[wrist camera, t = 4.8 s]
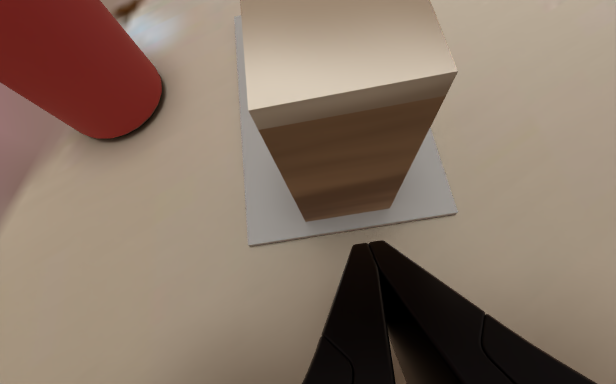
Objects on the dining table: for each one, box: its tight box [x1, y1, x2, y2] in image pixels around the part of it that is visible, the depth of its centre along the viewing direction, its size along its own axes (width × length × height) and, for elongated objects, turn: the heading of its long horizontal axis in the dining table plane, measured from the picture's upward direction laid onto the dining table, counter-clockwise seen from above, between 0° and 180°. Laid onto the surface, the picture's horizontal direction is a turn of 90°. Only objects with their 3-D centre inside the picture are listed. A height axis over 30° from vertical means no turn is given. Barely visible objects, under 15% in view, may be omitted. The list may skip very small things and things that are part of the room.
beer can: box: [0, 0, 162, 138], centre depth 15 cm, size 7×7×12 cm
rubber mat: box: [234, 15, 458, 247], centre depth 19 cm, size 17×11×1 cm, turn 8°
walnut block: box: [240, 0, 458, 222], centre depth 12 cm, size 4×4×10 cm
